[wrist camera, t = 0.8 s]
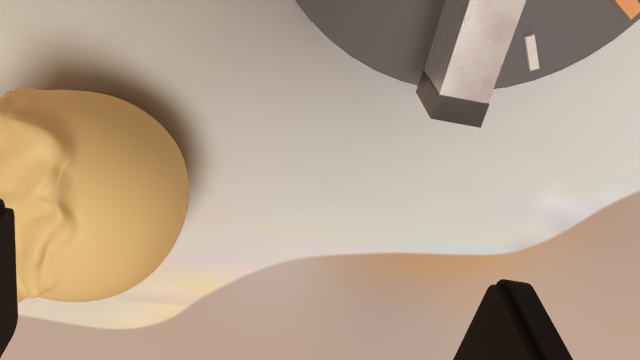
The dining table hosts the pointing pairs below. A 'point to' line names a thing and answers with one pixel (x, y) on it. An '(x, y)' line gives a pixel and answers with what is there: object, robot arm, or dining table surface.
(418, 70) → the dial plate
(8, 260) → the robot arm
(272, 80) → the dining table surface
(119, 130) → the sculpture
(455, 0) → the dial
